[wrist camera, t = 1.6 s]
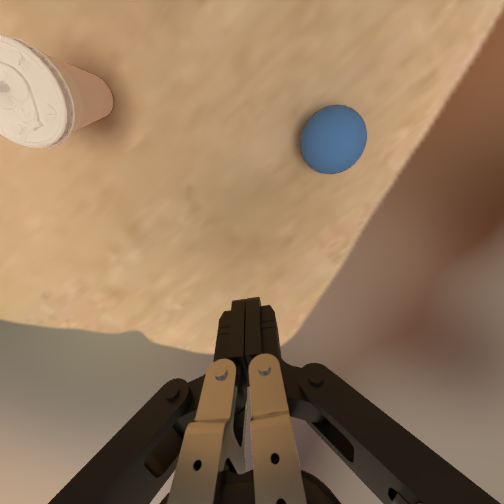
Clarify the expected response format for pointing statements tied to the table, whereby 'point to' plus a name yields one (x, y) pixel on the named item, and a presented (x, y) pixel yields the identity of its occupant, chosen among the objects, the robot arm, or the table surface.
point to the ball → (333, 139)
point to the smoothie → (45, 96)
